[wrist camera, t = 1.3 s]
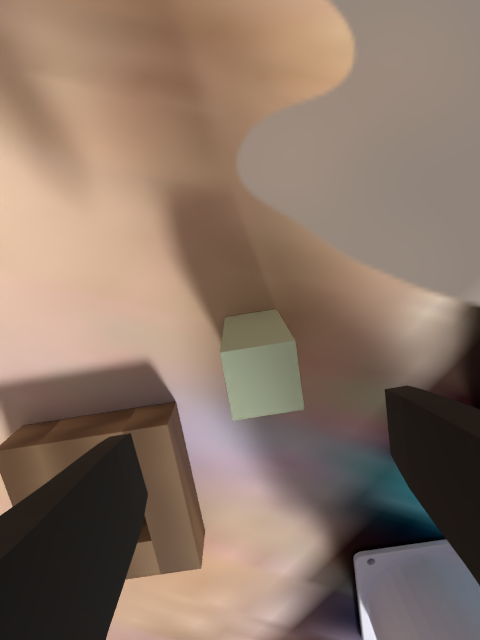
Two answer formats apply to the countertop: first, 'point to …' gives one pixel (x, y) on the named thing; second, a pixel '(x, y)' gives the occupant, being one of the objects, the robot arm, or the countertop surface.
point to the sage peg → (260, 365)
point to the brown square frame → (156, 465)
